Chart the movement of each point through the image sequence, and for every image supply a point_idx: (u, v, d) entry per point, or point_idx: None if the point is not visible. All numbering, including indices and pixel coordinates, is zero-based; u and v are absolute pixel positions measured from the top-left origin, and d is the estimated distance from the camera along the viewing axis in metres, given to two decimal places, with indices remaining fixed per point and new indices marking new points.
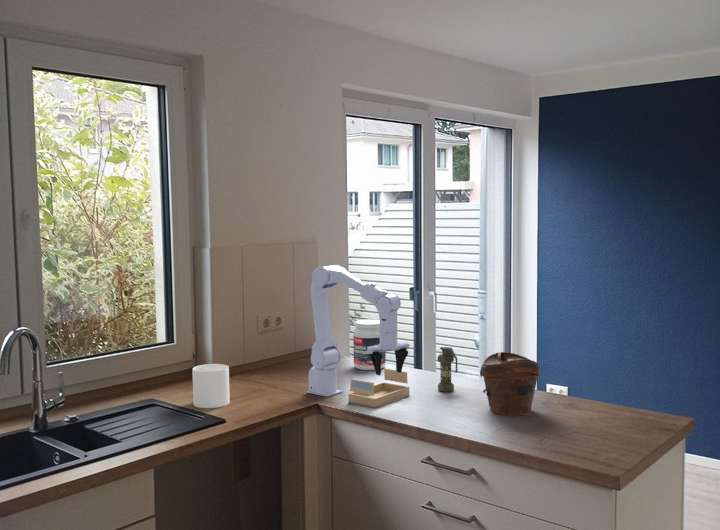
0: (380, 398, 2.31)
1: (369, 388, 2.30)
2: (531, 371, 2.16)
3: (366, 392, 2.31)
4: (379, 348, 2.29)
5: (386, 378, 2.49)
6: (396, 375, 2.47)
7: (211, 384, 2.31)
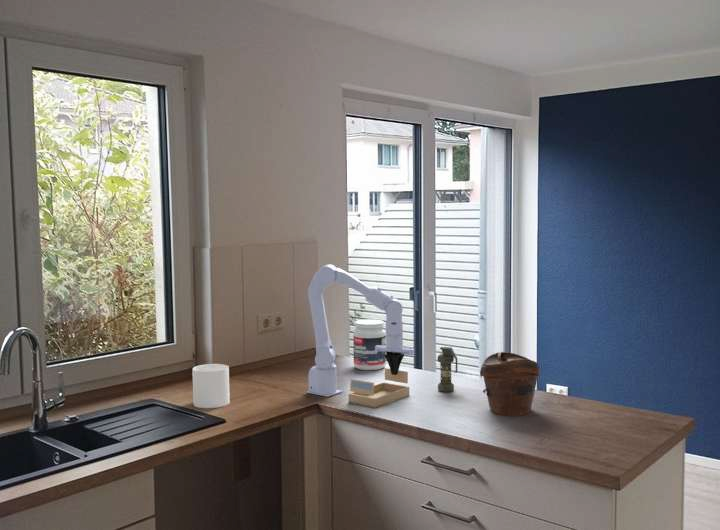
0: (380, 398, 2.31)
1: (369, 388, 2.30)
2: (531, 371, 2.16)
3: (366, 392, 2.31)
4: (381, 348, 2.47)
5: (386, 378, 2.50)
6: (396, 375, 2.47)
7: (211, 384, 2.31)
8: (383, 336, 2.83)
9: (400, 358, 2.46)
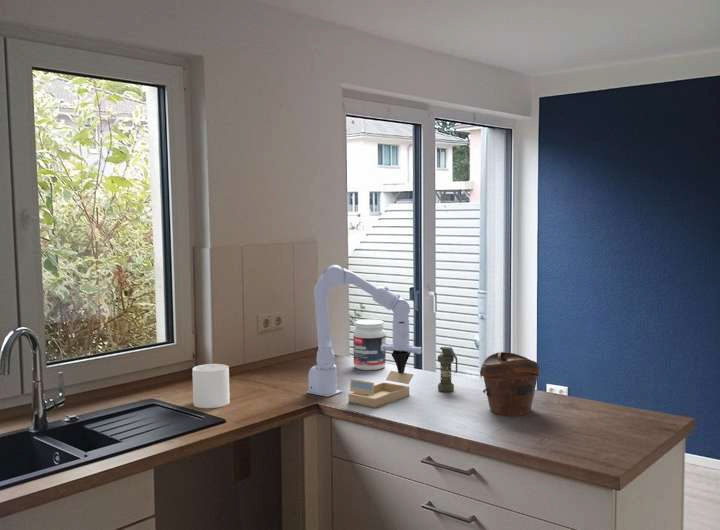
0: (380, 398, 2.31)
1: (369, 388, 2.30)
2: (531, 371, 2.16)
3: (366, 392, 2.31)
4: (387, 347, 2.49)
5: (388, 378, 2.50)
6: (400, 376, 2.49)
7: (211, 384, 2.31)
8: (383, 336, 2.83)
9: (406, 356, 2.49)
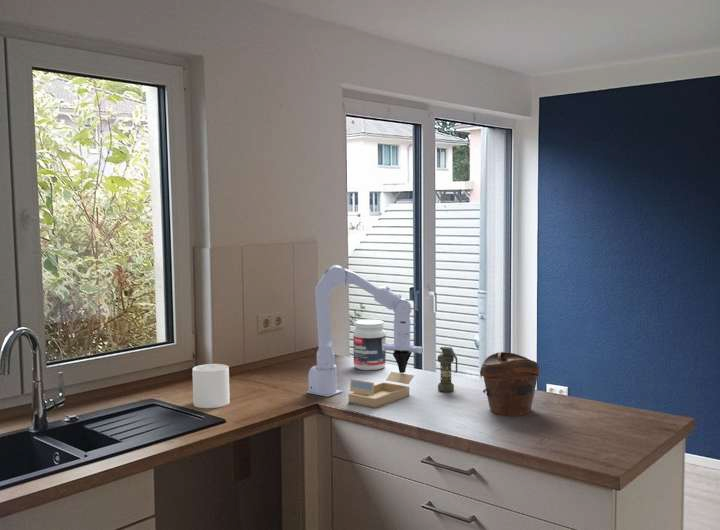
0: (380, 398, 2.31)
1: (369, 388, 2.30)
2: (531, 371, 2.16)
3: (366, 392, 2.31)
4: (389, 347, 2.50)
5: (388, 379, 2.50)
6: (400, 377, 2.49)
7: (211, 384, 2.31)
8: (383, 336, 2.83)
9: (408, 356, 2.50)
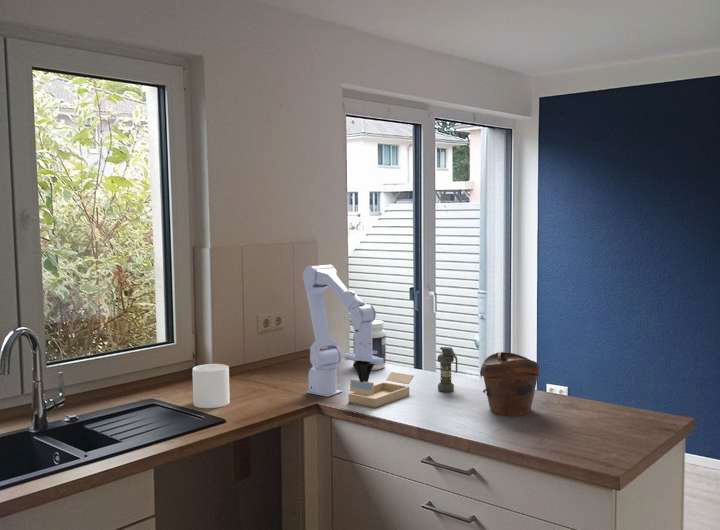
0: (380, 398, 2.31)
1: (369, 388, 2.30)
2: (531, 371, 2.16)
3: (366, 393, 2.31)
4: (350, 356, 2.34)
5: (388, 379, 2.50)
6: (400, 377, 2.49)
7: (211, 384, 2.31)
8: (383, 336, 2.83)
9: (370, 367, 2.33)
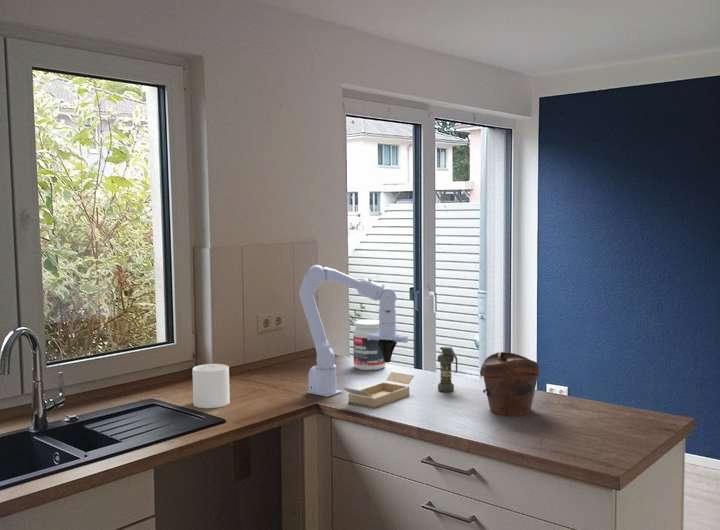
0: (380, 398, 2.31)
1: (365, 394, 2.29)
2: (531, 371, 2.16)
3: (364, 395, 2.30)
4: (374, 336, 2.49)
5: (388, 379, 2.50)
6: (400, 377, 2.49)
7: (211, 384, 2.31)
8: None
9: (393, 346, 2.49)
